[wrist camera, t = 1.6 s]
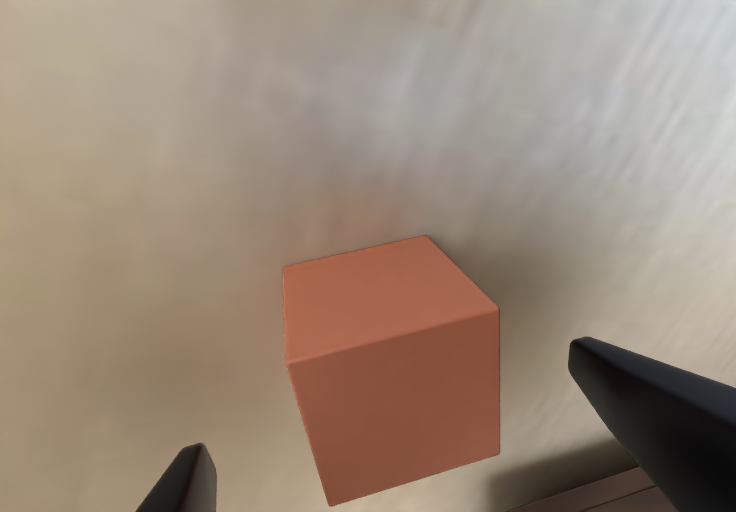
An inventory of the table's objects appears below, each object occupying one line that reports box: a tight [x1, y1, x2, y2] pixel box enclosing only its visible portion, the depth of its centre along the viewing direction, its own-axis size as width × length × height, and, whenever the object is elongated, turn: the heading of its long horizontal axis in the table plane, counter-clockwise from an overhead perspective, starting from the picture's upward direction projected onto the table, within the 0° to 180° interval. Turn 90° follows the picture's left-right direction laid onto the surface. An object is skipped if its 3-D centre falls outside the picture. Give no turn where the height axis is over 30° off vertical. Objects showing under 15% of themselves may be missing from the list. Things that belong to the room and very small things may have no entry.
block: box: [283, 235, 500, 506], centre depth 11 cm, size 4×4×4 cm
